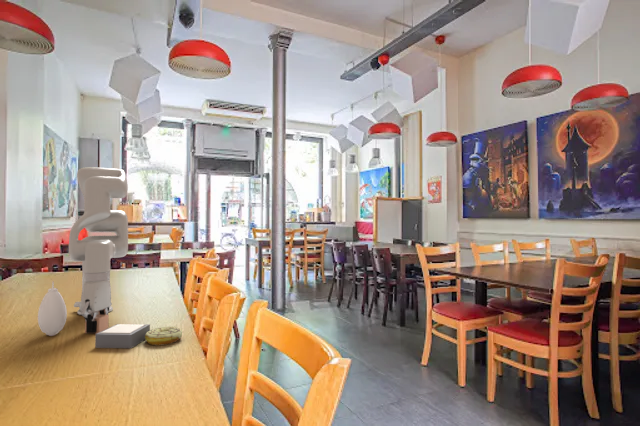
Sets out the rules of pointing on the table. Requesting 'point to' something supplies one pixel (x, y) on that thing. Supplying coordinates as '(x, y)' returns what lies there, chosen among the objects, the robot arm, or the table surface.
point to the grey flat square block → (121, 336)
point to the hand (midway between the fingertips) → (96, 329)
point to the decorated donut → (163, 335)
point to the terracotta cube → (101, 323)
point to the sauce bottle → (52, 312)
